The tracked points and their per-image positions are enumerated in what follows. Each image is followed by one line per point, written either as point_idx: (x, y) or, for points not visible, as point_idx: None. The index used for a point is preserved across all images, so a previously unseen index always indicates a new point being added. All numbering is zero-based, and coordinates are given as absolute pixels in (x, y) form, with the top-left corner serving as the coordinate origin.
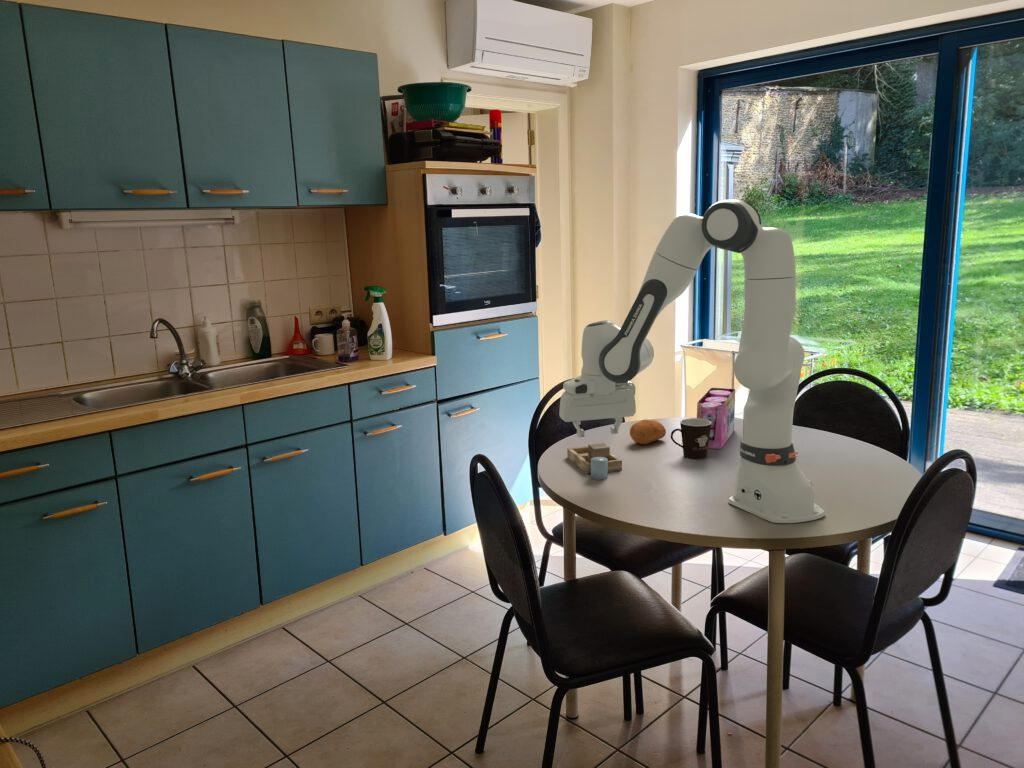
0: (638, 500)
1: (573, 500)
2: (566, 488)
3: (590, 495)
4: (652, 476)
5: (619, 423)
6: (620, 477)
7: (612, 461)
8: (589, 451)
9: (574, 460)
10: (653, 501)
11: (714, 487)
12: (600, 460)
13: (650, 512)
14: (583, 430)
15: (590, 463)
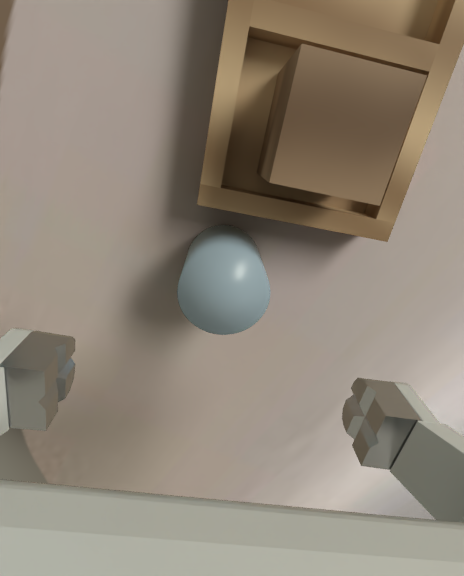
0: (210, 481)
1: None
2: (38, 307)
3: (96, 398)
4: (402, 349)
5: (441, 518)
6: (297, 303)
7: (338, 229)
8: (284, 85)
9: None
10: (242, 499)
11: None
12: (219, 313)
13: None
14: (35, 424)
15: (220, 198)
